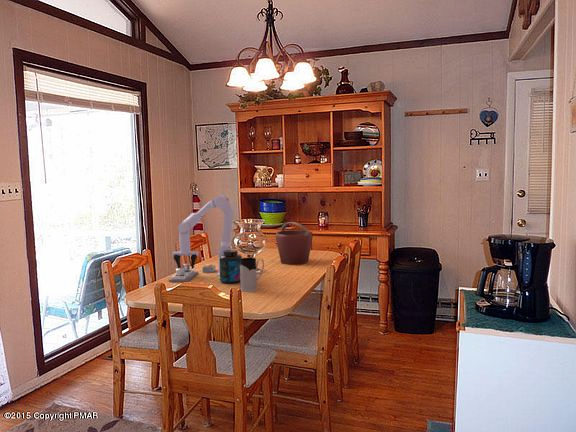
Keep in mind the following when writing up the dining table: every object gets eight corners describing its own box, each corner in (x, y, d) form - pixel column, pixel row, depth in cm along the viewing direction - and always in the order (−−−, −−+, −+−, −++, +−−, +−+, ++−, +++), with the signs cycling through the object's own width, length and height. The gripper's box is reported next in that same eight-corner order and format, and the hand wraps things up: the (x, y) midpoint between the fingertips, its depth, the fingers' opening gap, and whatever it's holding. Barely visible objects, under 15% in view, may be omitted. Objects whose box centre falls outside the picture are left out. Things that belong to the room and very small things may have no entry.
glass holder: (236, 289, 225) (235, 259, 223) (258, 284, 235) (257, 254, 233) (247, 292, 219) (246, 261, 217) (270, 287, 229) (269, 257, 227)
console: (212, 272, 265) (212, 267, 264) (202, 272, 265) (202, 267, 265) (215, 270, 271) (215, 265, 270) (205, 270, 271) (205, 265, 271)
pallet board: (187, 281, 244) (187, 276, 243) (168, 281, 245) (168, 276, 244) (198, 273, 264) (197, 268, 263) (180, 273, 264) (180, 268, 264)
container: (221, 278, 248) (220, 249, 247) (243, 278, 248) (242, 248, 247) (218, 284, 237) (217, 253, 235) (242, 283, 237) (240, 252, 235)
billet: (191, 273, 258) (190, 264, 257) (184, 274, 256) (183, 265, 255) (188, 272, 261) (188, 263, 261) (181, 273, 259) (181, 264, 259)
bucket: (318, 264, 280) (317, 222, 277) (284, 267, 272) (282, 225, 269) (302, 257, 303) (301, 219, 300) (270, 260, 294) (268, 221, 292)
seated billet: (185, 277, 247) (184, 268, 247) (178, 279, 245) (177, 269, 245) (182, 276, 251) (182, 267, 250) (175, 277, 249) (175, 268, 248)
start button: (210, 271, 266) (210, 265, 266) (205, 271, 267) (205, 265, 266) (212, 270, 269) (212, 264, 269) (207, 270, 270) (206, 264, 269)
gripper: (199, 242, 260) (200, 266, 261) (174, 243, 261) (175, 266, 262) (196, 244, 253) (197, 269, 254) (170, 245, 254) (171, 269, 255)
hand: (186, 268), depth 258 cm, fingers open, 7 cm apart
